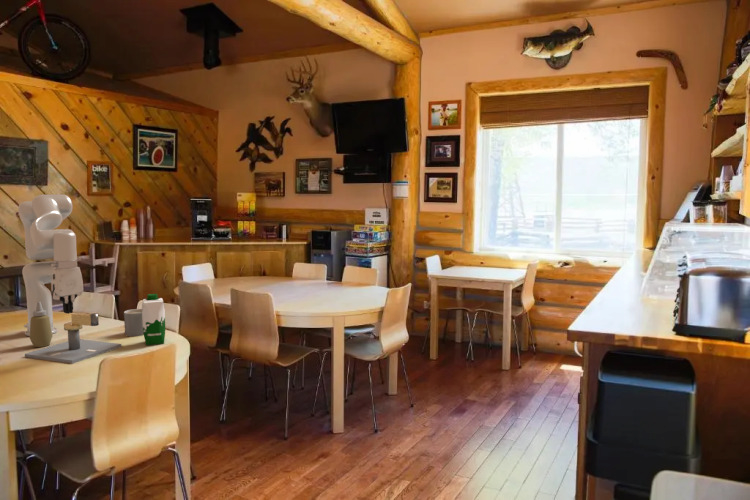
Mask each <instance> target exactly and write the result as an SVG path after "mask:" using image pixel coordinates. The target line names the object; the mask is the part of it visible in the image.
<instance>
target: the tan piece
mask: <svg viewBox="0 0 750 500" xmlns="http://www.w3.org/2000/svg"><path fill="white" fill-rule="evenodd" d="M70 314H71V321H70V322H66V323H63V330H64V331H67V332H68V331H73V330H79V331H80V330H82V329H83V326H89V327H96V326H99V325H100V323H99V321H100V320H99V313H98V312H96V313H82V312H81V313H78V312H73V313H70Z"/></svg>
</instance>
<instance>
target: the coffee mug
mask: <svg viewBox="0 0 750 500" xmlns="http://www.w3.org/2000/svg"><path fill="white" fill-rule="evenodd" d="M123 319H124V320H123V322H124V335H125V336H126V335H127V337H140V336H144V334H143V321H142V308H134V309H127V310H125V311H124V312H123Z"/></svg>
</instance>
